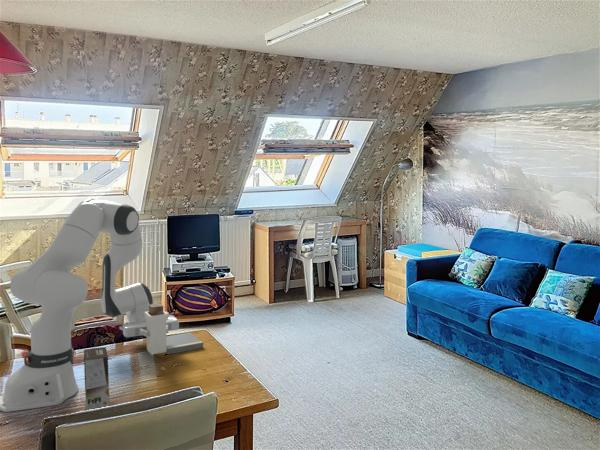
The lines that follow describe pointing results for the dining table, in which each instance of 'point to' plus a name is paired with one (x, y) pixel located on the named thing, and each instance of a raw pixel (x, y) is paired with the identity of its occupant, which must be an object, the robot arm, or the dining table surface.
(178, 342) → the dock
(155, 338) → the white tall block
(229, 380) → the dining table surface
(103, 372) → the coffee box
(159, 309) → the block
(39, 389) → the robot arm
